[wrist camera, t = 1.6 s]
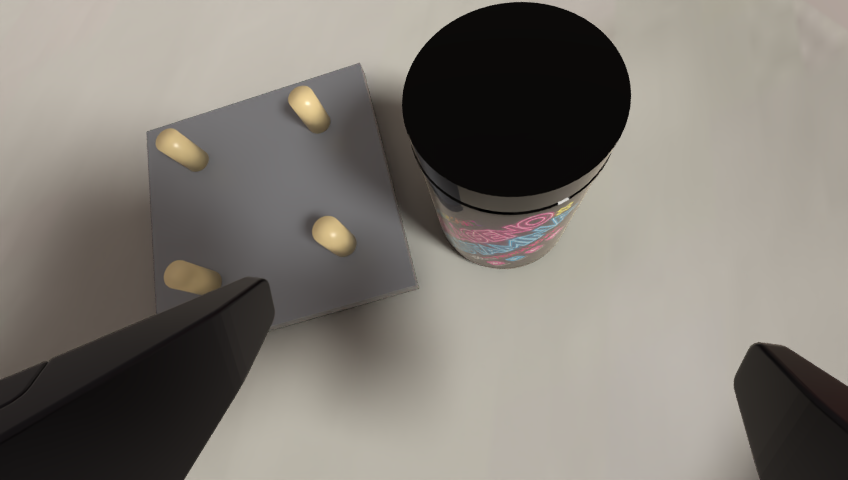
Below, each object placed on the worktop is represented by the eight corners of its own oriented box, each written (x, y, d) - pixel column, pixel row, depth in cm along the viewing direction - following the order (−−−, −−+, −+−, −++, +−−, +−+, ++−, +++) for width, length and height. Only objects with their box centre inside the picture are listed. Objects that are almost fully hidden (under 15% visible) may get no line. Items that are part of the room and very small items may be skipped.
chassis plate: (419, 288, 22) (406, 275, 19) (172, 358, 23) (118, 357, 20) (364, 73, 26) (346, 31, 23) (158, 139, 27) (112, 108, 24)
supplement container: (413, 207, 23) (358, 93, 13) (505, 131, 24) (517, -34, 14) (497, 300, 21) (505, 246, 11) (595, 214, 22) (685, 90, 12)
